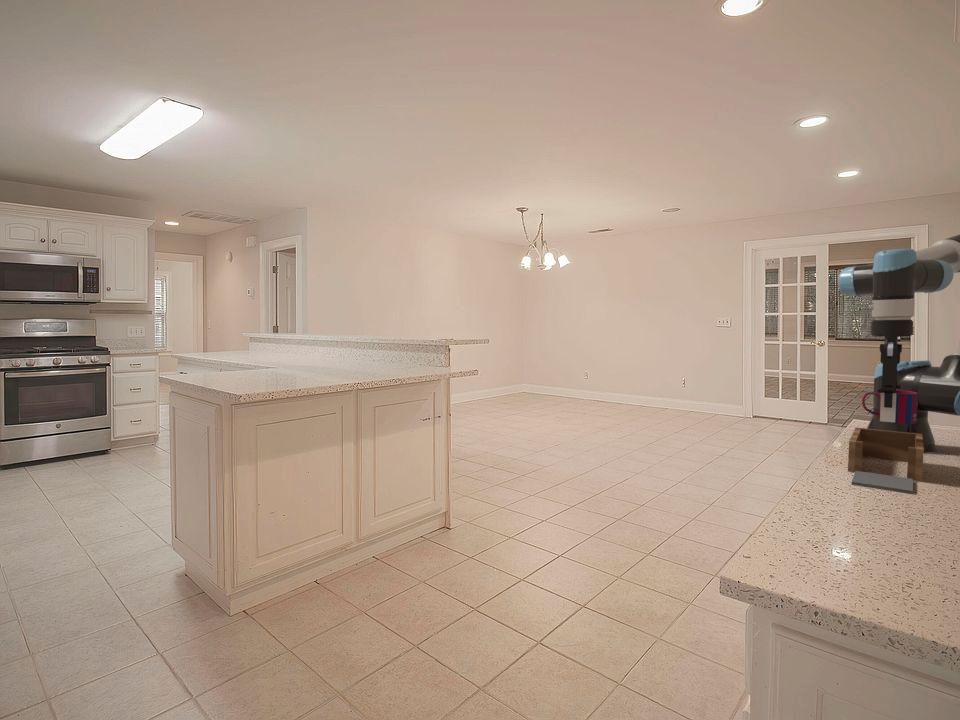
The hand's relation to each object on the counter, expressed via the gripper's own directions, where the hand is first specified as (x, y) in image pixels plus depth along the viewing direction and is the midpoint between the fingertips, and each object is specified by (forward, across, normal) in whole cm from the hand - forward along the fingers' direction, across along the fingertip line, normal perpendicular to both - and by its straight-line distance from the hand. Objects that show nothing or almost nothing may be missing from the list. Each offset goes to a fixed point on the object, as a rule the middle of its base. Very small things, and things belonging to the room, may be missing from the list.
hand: (888, 418), depth 121 cm
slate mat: (+12, +14, 0) cm, 18 cm away
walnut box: (+12, -1, 0) cm, 12 cm away
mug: (+1, 0, 0) cm, 1 cm away
